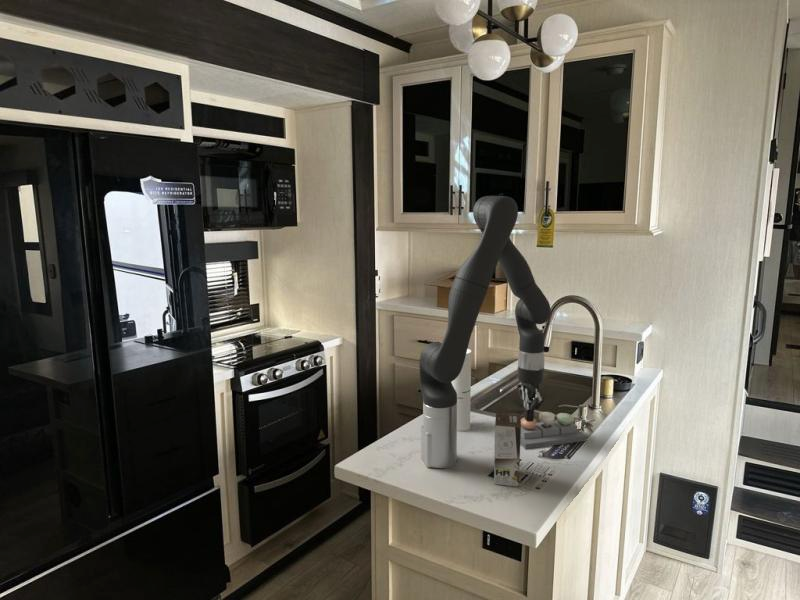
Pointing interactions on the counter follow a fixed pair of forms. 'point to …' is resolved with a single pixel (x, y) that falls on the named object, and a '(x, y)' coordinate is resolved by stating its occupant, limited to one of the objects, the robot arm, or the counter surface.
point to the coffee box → (507, 449)
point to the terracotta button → (528, 424)
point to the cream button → (546, 418)
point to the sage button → (564, 418)
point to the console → (550, 435)
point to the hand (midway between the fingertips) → (529, 420)
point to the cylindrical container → (463, 394)
